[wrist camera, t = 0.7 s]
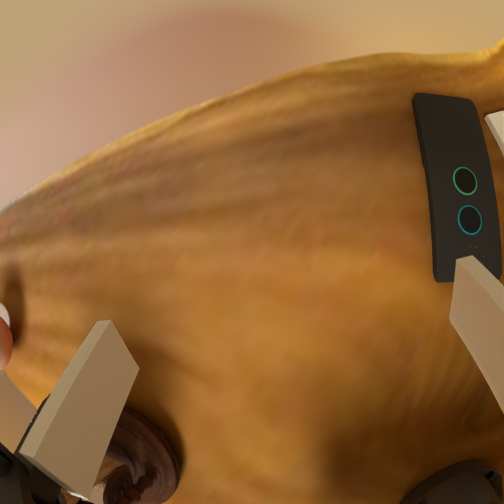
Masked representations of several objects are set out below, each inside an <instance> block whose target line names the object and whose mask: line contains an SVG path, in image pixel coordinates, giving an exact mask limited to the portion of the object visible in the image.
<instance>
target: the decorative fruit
mask: <svg viewBox="0 0 504 504" xmlns="http://www.w3.org/2000/svg"><path fill="white" fill-rule="evenodd" d="M12 347H13V337H12V333H11V330H10V328H9V326H8V325H7V323H6V322H5V321H4V320H3V319H2V318H1V317H0V370H2V369H3V368H5V367H6V365H7V364H8V362H9V360H10V358H11V354H12Z"/></svg>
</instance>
